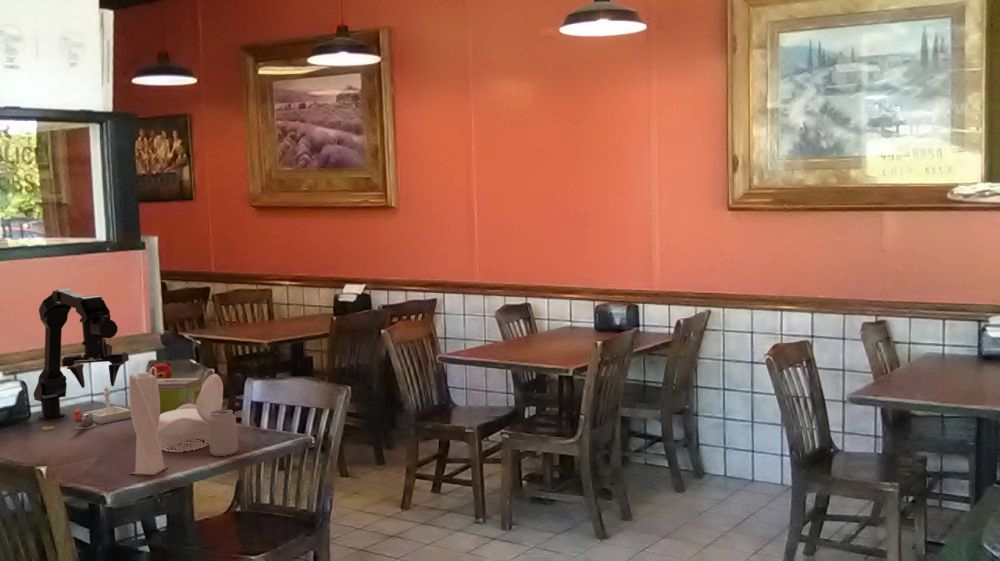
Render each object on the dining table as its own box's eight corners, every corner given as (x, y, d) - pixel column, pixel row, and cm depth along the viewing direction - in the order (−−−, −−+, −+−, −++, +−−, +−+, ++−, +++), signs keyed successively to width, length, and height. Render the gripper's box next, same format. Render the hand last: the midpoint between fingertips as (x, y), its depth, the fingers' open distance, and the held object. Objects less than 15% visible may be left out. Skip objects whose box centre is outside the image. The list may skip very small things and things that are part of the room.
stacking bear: (144, 422, 332) (140, 367, 331) (148, 415, 342) (144, 361, 341) (180, 419, 335) (176, 364, 333) (183, 412, 345) (179, 359, 343)
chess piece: (102, 416, 341) (100, 386, 340) (118, 415, 342) (115, 385, 341) (98, 419, 337) (96, 388, 336) (114, 418, 337) (112, 387, 336)
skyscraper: (173, 468, 276) (165, 364, 273) (157, 477, 268) (149, 369, 265) (144, 467, 278) (136, 364, 275) (127, 476, 270) (119, 369, 267)
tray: (85, 419, 339) (85, 412, 339) (116, 413, 347) (115, 406, 347) (100, 424, 332) (100, 416, 332) (132, 417, 340) (131, 410, 339)
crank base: (71, 427, 329) (71, 426, 329) (91, 423, 333) (91, 422, 333) (80, 430, 324) (80, 429, 324) (100, 426, 329) (100, 425, 329)
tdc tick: (53, 428, 328) (53, 425, 328) (52, 429, 327) (52, 426, 327) (43, 429, 328) (43, 426, 328) (42, 430, 327) (42, 427, 327)
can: (242, 450, 292) (239, 408, 291) (232, 457, 285) (229, 414, 283) (216, 450, 293) (213, 408, 292) (206, 457, 285) (203, 414, 284)
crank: (80, 423, 331) (78, 403, 330) (94, 422, 331) (93, 402, 330) (69, 432, 318) (67, 411, 318) (84, 432, 319) (82, 410, 318)
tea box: (205, 423, 328) (202, 376, 326) (190, 431, 318) (187, 383, 316) (161, 423, 330) (157, 377, 329) (145, 430, 320) (141, 383, 319)
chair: (159, 439, 308) (154, 373, 306) (228, 433, 312) (223, 368, 310) (151, 457, 289) (146, 386, 287) (225, 450, 293) (220, 380, 291)
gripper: (133, 331, 328) (137, 380, 329) (74, 335, 329) (79, 383, 330) (119, 336, 317) (124, 387, 318) (59, 339, 318) (63, 390, 319)
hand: (98, 386), depth 322 cm, fingers open, 9 cm apart
